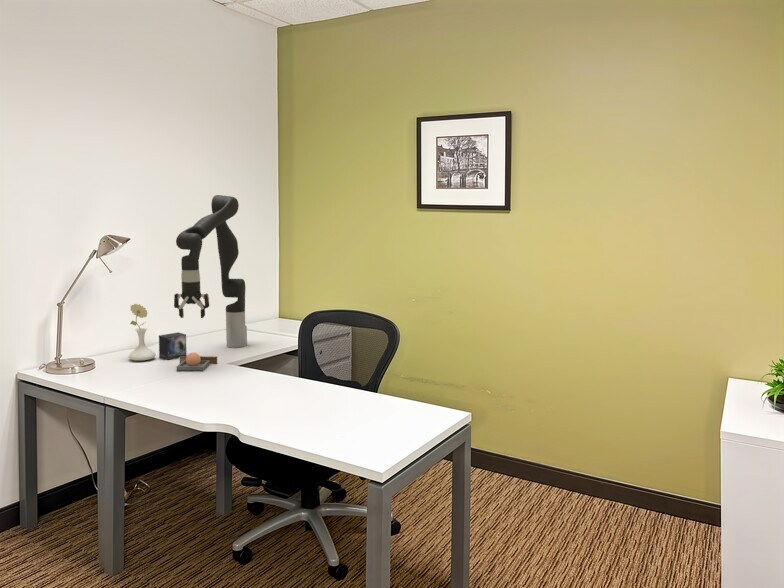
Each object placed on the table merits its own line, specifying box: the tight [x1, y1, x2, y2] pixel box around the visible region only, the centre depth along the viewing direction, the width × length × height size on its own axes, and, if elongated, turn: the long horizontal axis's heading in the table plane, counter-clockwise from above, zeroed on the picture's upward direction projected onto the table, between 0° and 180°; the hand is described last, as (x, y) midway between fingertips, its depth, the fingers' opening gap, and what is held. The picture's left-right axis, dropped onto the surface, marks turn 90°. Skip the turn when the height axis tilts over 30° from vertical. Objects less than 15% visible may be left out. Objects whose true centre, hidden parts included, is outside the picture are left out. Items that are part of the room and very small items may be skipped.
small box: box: [158, 331, 188, 361], centre depth 290 cm, size 11×6×10 cm, turn 143°
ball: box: [186, 352, 201, 366], centre depth 271 cm, size 6×6×6 cm
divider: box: [179, 355, 218, 365], centre depth 279 cm, size 1×16×3 cm, turn 92°
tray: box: [175, 360, 211, 372], centre depth 271 cm, size 11×11×2 cm
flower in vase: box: [128, 303, 157, 362], centre depth 284 cm, size 13×11×25 cm
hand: (192, 317), depth 274 cm, fingers open, 8 cm apart
